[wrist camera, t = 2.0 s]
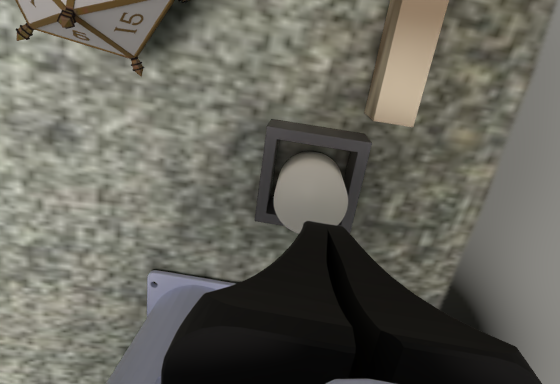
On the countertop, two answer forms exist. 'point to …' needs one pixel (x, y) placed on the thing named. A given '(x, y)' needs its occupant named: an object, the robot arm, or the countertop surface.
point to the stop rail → (404, 60)
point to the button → (310, 191)
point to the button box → (319, 137)
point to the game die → (97, 23)
